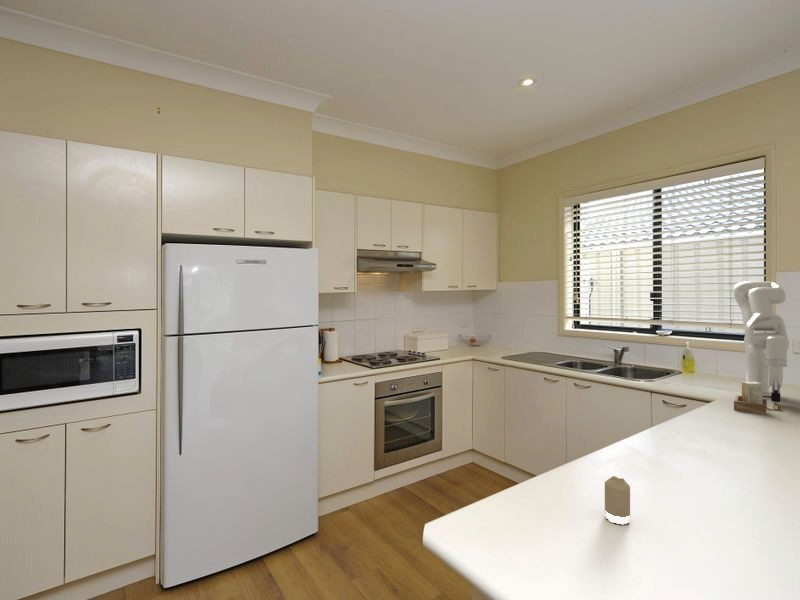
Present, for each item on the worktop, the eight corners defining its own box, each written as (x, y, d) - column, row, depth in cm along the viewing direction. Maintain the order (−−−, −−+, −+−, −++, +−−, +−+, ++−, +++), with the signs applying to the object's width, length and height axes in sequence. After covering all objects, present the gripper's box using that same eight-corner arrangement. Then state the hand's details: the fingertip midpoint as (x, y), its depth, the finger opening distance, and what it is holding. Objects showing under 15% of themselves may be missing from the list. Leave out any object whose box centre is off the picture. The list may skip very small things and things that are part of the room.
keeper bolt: (773, 404, 197) (773, 399, 197) (777, 405, 196) (777, 399, 196) (773, 409, 190) (773, 403, 190) (777, 409, 189) (777, 404, 189)
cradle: (736, 403, 201) (736, 395, 201) (766, 407, 194) (766, 399, 194) (733, 409, 191) (733, 400, 191) (766, 414, 184) (766, 405, 184)
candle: (600, 514, 105) (600, 474, 105) (621, 512, 106) (621, 473, 106) (613, 526, 100) (613, 484, 100) (635, 525, 100) (635, 483, 100)
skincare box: (756, 407, 194) (756, 381, 193) (763, 410, 189) (763, 383, 189) (740, 407, 195) (741, 381, 194) (747, 410, 190) (747, 383, 190)
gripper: (765, 359, 207) (765, 397, 207) (765, 363, 196) (764, 403, 196) (786, 361, 202) (786, 399, 202) (787, 365, 191) (786, 406, 191)
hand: (775, 401), depth 199 cm, fingers closed
